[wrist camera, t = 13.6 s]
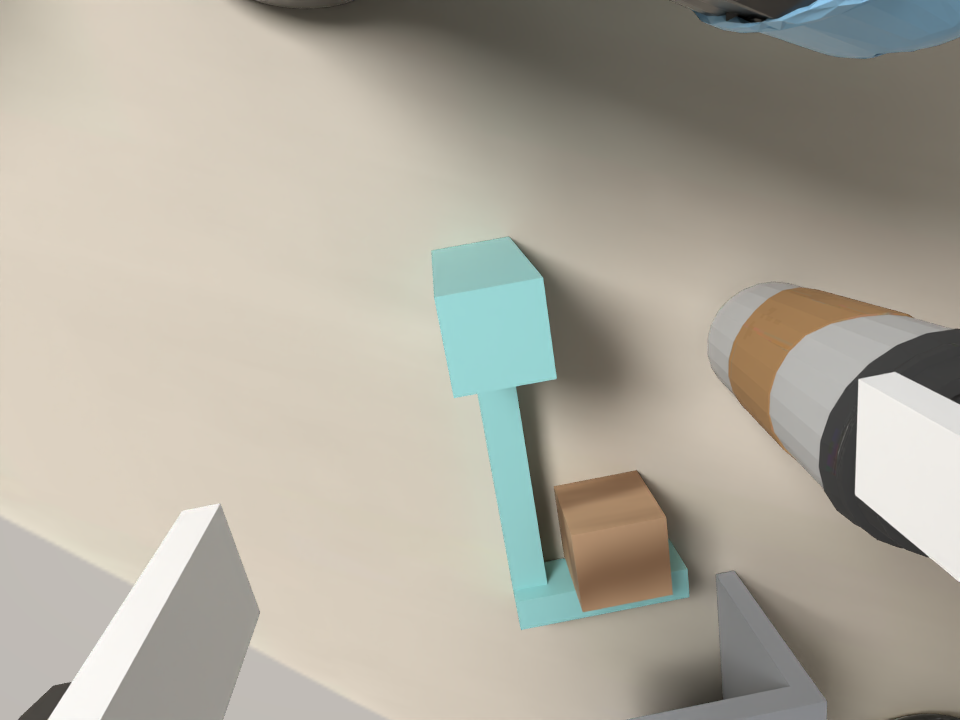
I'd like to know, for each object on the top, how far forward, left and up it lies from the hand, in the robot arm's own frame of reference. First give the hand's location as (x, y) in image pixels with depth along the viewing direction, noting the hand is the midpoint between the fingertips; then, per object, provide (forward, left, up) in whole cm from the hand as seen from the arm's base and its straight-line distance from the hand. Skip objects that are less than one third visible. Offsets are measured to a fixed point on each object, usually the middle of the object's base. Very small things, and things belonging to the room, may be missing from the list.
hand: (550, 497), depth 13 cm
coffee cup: (+6, +15, -22) cm, 27 cm away
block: (+16, +5, -21) cm, 27 cm away
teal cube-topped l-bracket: (+9, +4, -21) cm, 23 cm away
